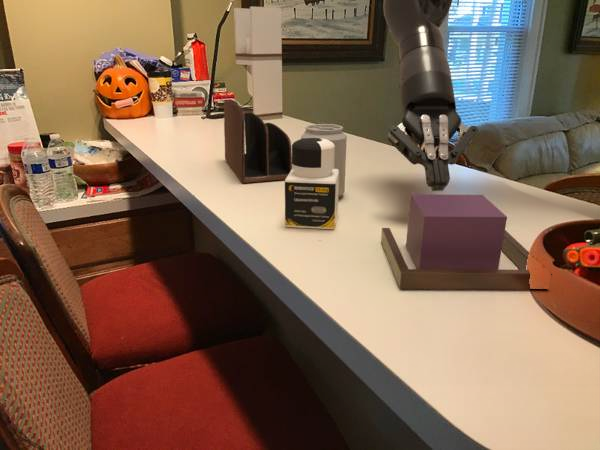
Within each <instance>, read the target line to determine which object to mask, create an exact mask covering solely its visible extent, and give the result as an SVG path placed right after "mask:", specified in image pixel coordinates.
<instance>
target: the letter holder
mask: <svg viewBox="0 0 600 450" xmlns="http://www.w3.org/2000/svg"><path fill="white" fill-rule="evenodd" d="M243 111H244V110H243V109H242V107H241V105H239V103H238V102H236V101H235V100H234V99H229V98H228V99H224V101H223V112H224V114H223V115H224V116H223V118H224V119H223V133H224V134H223V135H224V160H225V161H226V162H227V164H228V165H229V167H231V169H232V171H233V172H234V174H235V175H236V176H237V178H238V179H239V180H240V182H241V183H242V185H245V184H251V183H263V182H275V181H276V182H277V181H285V179H286V178H287V176H288V175H289V173H290V171H291V170H292V141H291V138H290V137H289V134H287V133H286V132H285V131H284V130H283V129H282V128H280V127H279V126H278V125H277V124H274V123H272V122H264V120H261V119H260V118H259V117H258V116H257V115H255V114H254V113H251V112H248V113H245V115H244V113H243Z"/></svg>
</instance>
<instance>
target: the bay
mask: <svg viewBox="0 0 600 450" xmlns="http://www.w3.org/2000/svg"><path fill="white" fill-rule="evenodd" d="M381 242H382V243H381ZM380 243H381V245H382V247H383V250H384V253H385V255H386V258H387V260H388V263H389V265H390V268H391V271H392V273H393V276H394V279H395V281H396V284H397V286H398V289H399V290H431V291H432V290H437V291H440V290H443V291H444V290H446V291H447V290H448V291H450V290H451V291H452V290H453V291H455V290H456V291H457V290H459V291H460V290H461V291H463V290H465V291H466V290H467V291H468V290H470V291H471V290H472V291H473V290H474V291H475V290H476V291H478V290H479V291H481V290H482V291H531V290H530V284H529V279H530V272H529V270H526V265H527V259H528V255H529V253H530V252H529V250H527V248H526V247H524V246H523V245H522V244H521V243H520V242H519V241H518V240H517V239H516V238H514V237H513V236H512V234H510V233H509V232H508V231H507V230H506V229H505V233H504V238H503V244H502V250H501V252H503V253H504V254H505V255H506V256H507V258H509V259H510V260H511V262H512V263H513V264H514V265H515V266H516V267H517V268H518V269H498V270H489V269H417V268H409V267H408V265H407V263H406V260H405V259H404V256H403V254H402V252H401V250H400V247H399V245H398V243H397V241H396V239H395V237H394V234H393V232H392V230H391V228H390V227H381V235H380Z"/></svg>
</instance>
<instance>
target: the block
mask: <svg viewBox="0 0 600 450" xmlns="http://www.w3.org/2000/svg"><path fill="white" fill-rule="evenodd" d="M408 206H409V207H408V217H407V218H408V219H407V230H406V242H405V246H406V248H407V250H408V252H409V254H410V256H411V259H412V261H413V263H414V265H415V267H416V269H489V270H499V267H500V261H501V255H502V244H503V238H504V233H505V230H506V226H507V221H508V216H507V215H506V214H504V212H502V211H501V210H500V209H499V208H498V207H497V206H496V205H495V204H494V203H492V202H491V201H490V200H489V199H488V198H487V197H486V196H484V194H441V193H439V194H435V193H434V194H433V193H432V194H431V193H429V194H427V193H426V194H425V193H423V194H422V193H417V194H416V193H412V194H411V193H410V196H409V205H408Z"/></svg>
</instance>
